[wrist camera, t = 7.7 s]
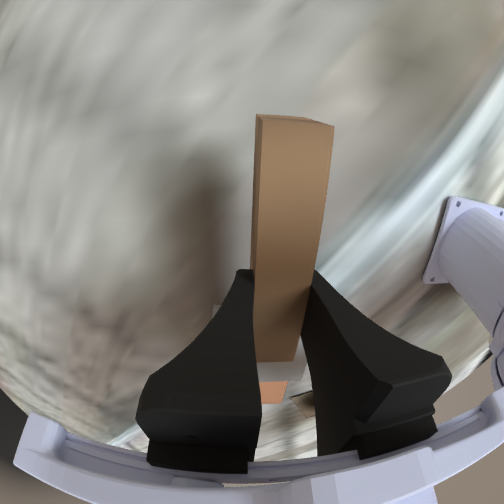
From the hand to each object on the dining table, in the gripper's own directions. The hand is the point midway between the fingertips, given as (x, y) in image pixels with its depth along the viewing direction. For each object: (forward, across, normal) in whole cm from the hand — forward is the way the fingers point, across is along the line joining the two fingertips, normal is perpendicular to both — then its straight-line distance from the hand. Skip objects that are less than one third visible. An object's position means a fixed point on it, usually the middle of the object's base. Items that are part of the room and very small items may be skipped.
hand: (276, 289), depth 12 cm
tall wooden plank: (+3, 0, +2) cm, 3 cm away
